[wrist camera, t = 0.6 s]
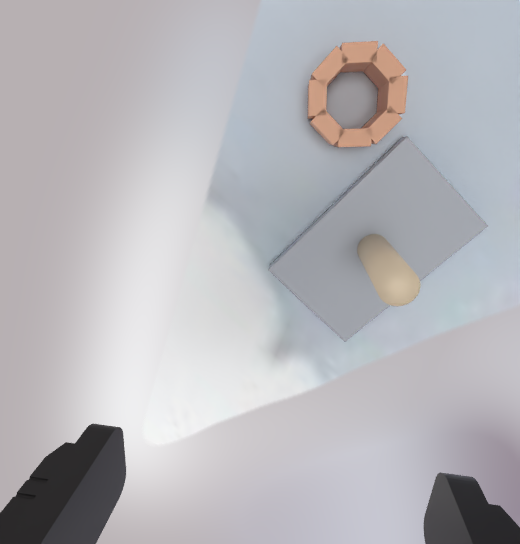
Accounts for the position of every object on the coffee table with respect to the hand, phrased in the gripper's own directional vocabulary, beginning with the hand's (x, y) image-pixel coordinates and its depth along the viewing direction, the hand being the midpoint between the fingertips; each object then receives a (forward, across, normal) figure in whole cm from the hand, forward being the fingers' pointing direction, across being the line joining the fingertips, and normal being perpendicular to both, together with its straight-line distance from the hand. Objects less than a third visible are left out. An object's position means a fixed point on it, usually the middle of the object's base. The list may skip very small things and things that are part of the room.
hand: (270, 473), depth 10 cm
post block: (+23, -6, 0) cm, 24 cm away
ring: (+23, -3, -10) cm, 25 cm away
